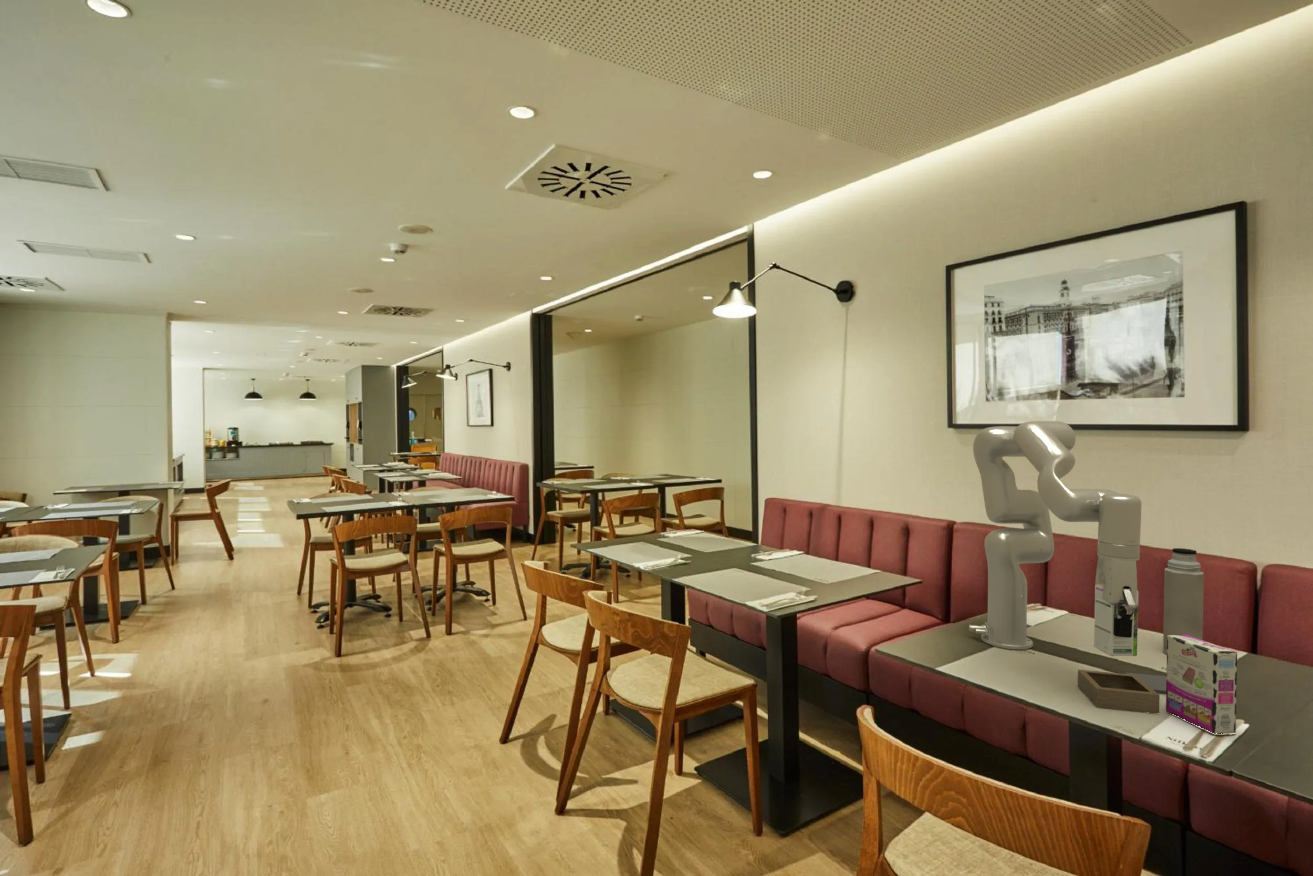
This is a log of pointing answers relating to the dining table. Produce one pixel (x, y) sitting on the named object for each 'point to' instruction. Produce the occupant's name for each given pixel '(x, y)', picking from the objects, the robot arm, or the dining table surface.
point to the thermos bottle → (1183, 596)
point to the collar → (1118, 691)
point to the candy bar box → (1201, 683)
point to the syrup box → (1112, 628)
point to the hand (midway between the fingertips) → (1115, 630)
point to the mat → (1153, 682)
